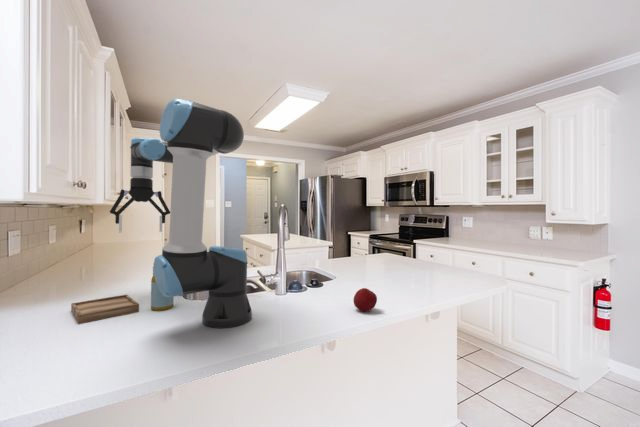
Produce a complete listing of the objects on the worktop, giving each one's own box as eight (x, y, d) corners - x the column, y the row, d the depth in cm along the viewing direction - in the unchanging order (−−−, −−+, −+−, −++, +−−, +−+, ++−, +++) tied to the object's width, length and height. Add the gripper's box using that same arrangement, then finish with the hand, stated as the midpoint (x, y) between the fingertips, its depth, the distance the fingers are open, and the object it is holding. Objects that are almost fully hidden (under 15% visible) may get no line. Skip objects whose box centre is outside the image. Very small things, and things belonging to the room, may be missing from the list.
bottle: (177, 305, 107) (177, 264, 107) (165, 311, 100) (165, 267, 100) (159, 304, 108) (159, 263, 108) (146, 310, 101) (146, 267, 101)
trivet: (138, 311, 100) (139, 304, 100) (78, 324, 88) (78, 315, 88) (126, 301, 111) (126, 294, 111) (71, 311, 99) (71, 303, 99)
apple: (368, 316, 99) (369, 292, 99) (349, 310, 104) (349, 288, 104) (380, 311, 104) (380, 288, 104) (361, 306, 110) (361, 284, 110)
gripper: (175, 181, 125) (175, 230, 125) (103, 177, 113) (103, 232, 112) (177, 179, 119) (177, 231, 119) (101, 174, 106) (100, 233, 106)
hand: (141, 232), depth 116 cm, fingers open, 13 cm apart
